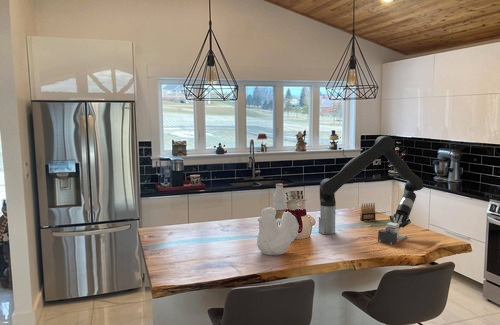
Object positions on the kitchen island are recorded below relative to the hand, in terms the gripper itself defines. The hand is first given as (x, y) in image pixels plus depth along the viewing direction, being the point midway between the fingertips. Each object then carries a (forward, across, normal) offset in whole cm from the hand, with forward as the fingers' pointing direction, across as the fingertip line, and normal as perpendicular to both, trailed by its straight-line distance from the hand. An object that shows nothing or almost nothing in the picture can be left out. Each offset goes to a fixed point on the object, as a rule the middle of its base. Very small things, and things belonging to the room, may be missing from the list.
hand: (394, 232), depth 226 cm
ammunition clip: (-18, -34, +26) cm, 47 cm away
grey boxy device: (+5, 0, +2) cm, 6 cm away
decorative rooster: (+46, -34, -39) cm, 69 cm away
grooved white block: (+5, 0, +1) cm, 5 cm away
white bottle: (+20, -68, -12) cm, 71 cm away
